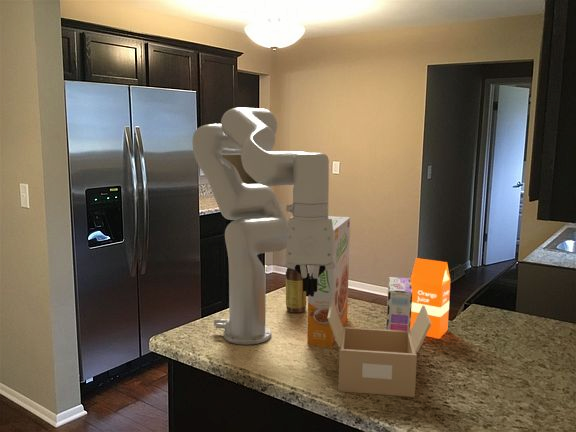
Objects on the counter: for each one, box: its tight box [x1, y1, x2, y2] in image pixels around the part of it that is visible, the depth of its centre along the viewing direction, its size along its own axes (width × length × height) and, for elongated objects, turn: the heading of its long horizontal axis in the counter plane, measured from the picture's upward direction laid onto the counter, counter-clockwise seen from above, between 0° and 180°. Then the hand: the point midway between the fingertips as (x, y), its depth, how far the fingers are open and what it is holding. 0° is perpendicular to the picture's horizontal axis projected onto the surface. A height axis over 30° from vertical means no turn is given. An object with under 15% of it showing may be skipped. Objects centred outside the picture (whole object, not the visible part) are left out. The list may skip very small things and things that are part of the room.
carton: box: [337, 326, 418, 398], centre depth 115 cm, size 16×14×9 cm
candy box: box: [385, 276, 412, 331], centre depth 133 cm, size 14×6×16 cm, turn 168°
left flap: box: [327, 300, 344, 348], centre depth 115 cm, size 7×12×1 cm
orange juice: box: [410, 257, 451, 340], centre depth 143 cm, size 8×9×20 cm
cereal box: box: [306, 215, 351, 348], centre depth 142 cm, size 22×6×30 cm, turn 163°
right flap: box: [410, 305, 431, 353], centre depth 112 cm, size 7×12×1 cm
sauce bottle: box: [284, 267, 307, 314], centre depth 159 cm, size 6×6×20 cm
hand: (310, 294), depth 114 cm, fingers closed
